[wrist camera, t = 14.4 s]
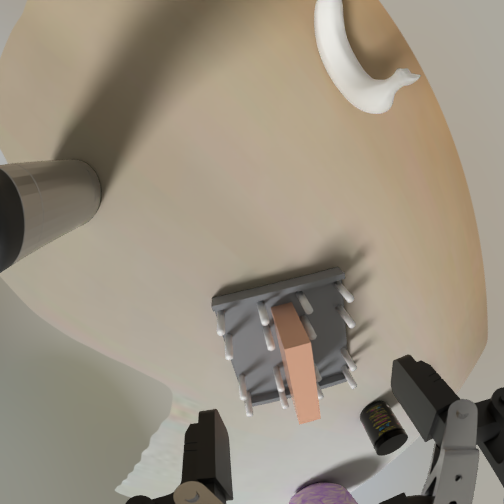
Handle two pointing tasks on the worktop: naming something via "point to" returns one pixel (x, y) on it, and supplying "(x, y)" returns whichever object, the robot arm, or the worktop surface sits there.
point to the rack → (265, 338)
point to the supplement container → (383, 428)
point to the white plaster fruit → (352, 63)
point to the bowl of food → (323, 495)
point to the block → (297, 362)
